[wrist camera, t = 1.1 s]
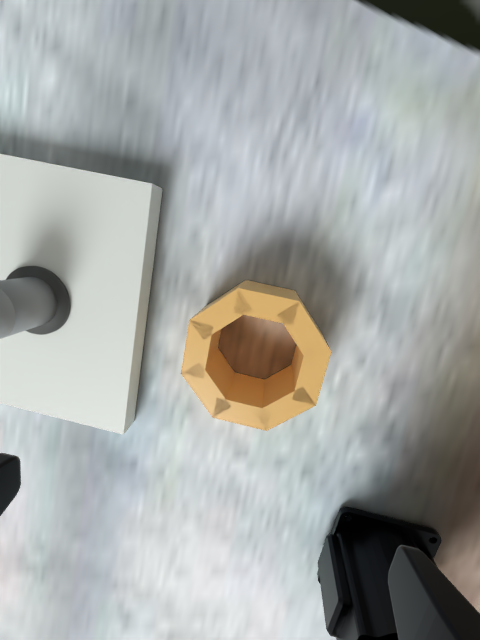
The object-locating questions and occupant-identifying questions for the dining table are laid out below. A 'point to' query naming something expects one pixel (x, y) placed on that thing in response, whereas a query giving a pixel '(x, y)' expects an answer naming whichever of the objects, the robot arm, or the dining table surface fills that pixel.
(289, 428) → the dining table surface
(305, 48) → the dining table surface
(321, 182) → the dining table surface
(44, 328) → the shaft board
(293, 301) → the collar
